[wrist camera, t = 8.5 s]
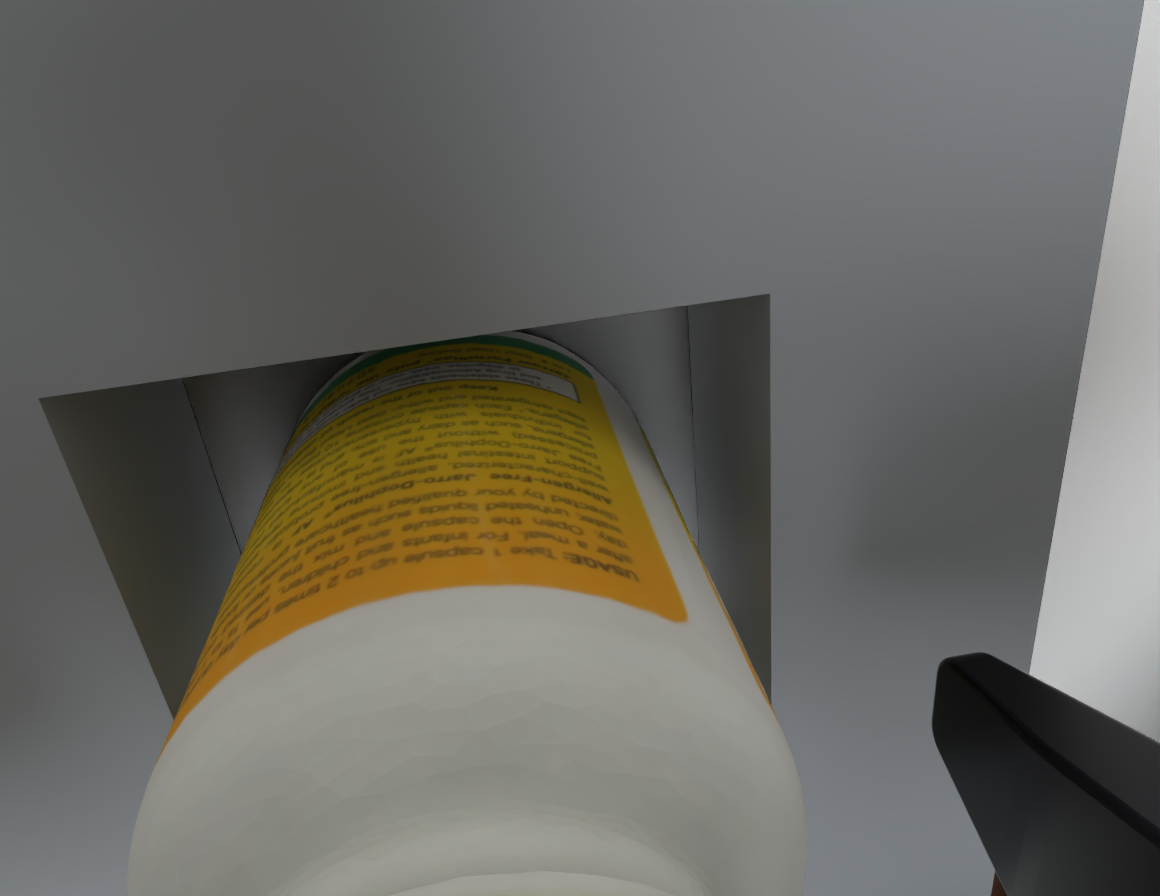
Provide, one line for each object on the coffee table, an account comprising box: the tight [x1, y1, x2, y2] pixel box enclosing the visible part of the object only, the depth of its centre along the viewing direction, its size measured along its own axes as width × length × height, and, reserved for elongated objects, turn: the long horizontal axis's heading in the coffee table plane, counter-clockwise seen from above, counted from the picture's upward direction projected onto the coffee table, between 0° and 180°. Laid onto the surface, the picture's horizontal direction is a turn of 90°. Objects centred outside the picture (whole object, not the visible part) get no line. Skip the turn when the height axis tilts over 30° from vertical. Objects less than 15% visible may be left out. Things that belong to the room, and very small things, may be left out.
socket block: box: [0, 0, 1144, 896], centre depth 11 cm, size 14×14×4 cm
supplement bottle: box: [127, 331, 808, 896], centre depth 9 cm, size 5×5×10 cm
